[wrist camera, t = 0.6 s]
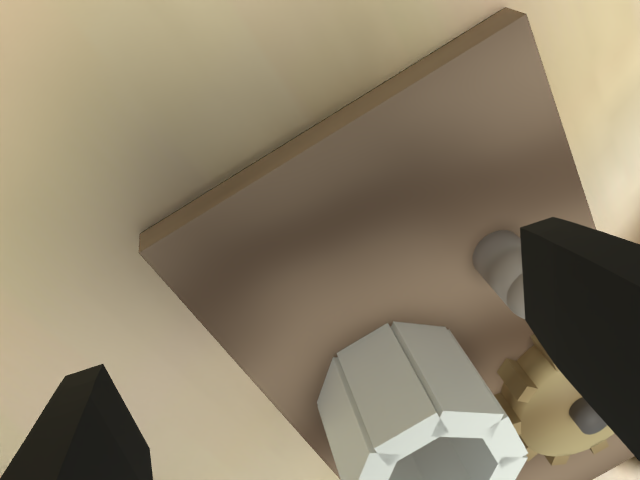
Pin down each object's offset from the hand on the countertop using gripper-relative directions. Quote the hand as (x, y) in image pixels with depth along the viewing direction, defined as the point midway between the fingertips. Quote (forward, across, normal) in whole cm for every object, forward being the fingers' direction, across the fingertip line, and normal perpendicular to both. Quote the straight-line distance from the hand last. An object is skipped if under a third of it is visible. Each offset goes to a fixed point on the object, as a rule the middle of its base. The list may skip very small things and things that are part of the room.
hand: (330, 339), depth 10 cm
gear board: (+10, -5, +10) cm, 15 cm away
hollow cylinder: (+8, -2, +10) cm, 13 cm away
